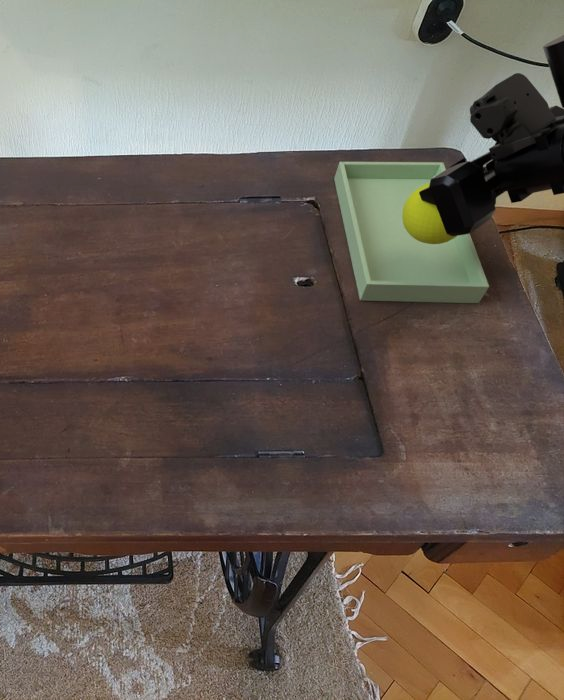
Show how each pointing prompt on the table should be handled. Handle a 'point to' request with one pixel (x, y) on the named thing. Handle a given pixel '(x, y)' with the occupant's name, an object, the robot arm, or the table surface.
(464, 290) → the pale green tray
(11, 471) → the table surface
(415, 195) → the ornament
